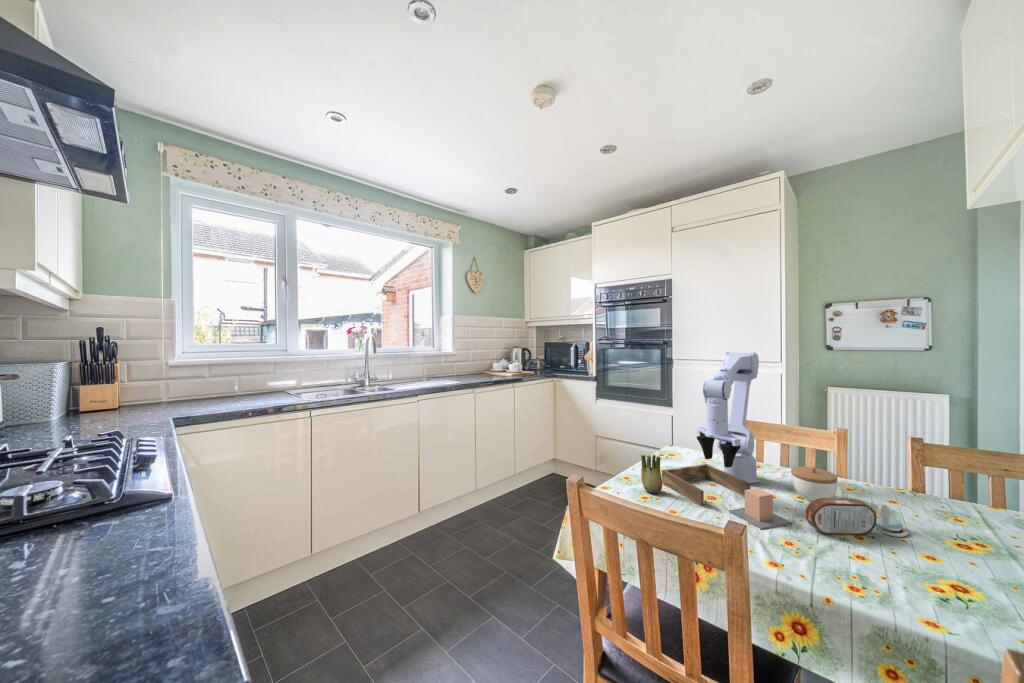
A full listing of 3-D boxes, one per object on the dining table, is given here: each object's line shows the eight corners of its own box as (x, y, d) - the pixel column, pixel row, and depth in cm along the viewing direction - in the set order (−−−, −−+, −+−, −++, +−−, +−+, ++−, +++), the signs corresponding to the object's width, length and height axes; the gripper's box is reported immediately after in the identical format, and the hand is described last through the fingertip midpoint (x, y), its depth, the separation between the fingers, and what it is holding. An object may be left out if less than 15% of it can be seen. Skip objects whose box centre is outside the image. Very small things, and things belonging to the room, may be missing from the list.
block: (758, 510, 103) (757, 487, 103) (773, 518, 98) (772, 494, 98) (745, 513, 102) (744, 490, 102) (759, 521, 97) (759, 496, 97)
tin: (868, 530, 92) (868, 497, 92) (880, 537, 89) (879, 503, 89) (804, 529, 94) (803, 496, 94) (813, 536, 91) (812, 502, 90)
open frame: (706, 476, 129) (706, 464, 129) (750, 497, 112) (750, 483, 112) (662, 483, 124) (661, 470, 124) (700, 506, 107) (700, 491, 107)
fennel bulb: (639, 490, 119) (639, 453, 119) (650, 486, 122) (649, 450, 122) (655, 496, 114) (654, 458, 114) (665, 493, 117) (664, 455, 117)
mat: (757, 506, 106) (757, 505, 106) (791, 523, 96) (791, 522, 96) (729, 511, 104) (729, 510, 104) (761, 529, 94) (761, 528, 94)
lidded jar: (846, 502, 107) (846, 470, 107) (822, 509, 103) (822, 476, 103) (806, 488, 117) (805, 459, 117) (783, 494, 113) (782, 464, 113)
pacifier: (915, 535, 90) (883, 522, 96) (916, 510, 90) (884, 499, 95) (896, 541, 88) (865, 528, 93) (897, 516, 87) (866, 504, 93)
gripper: (689, 415, 119) (690, 456, 119) (726, 425, 105) (727, 472, 105) (707, 413, 121) (708, 454, 121) (745, 423, 107) (746, 469, 107)
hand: (718, 462), depth 113 cm, fingers open, 7 cm apart
